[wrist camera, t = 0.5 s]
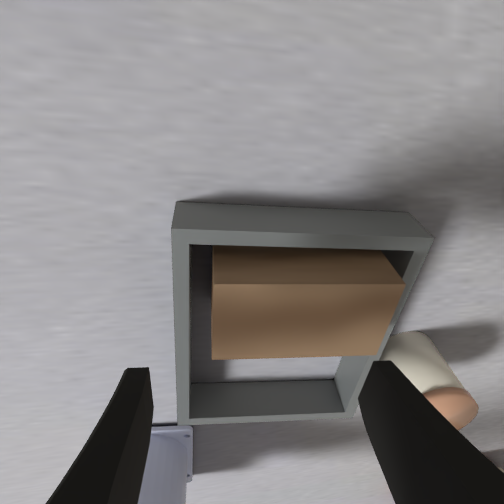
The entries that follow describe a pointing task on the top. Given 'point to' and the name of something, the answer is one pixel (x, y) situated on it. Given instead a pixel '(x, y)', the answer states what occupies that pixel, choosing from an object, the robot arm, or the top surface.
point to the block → (300, 301)
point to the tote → (283, 235)
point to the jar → (431, 376)
